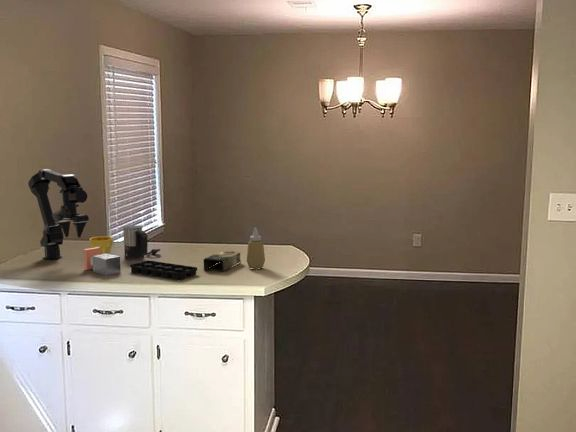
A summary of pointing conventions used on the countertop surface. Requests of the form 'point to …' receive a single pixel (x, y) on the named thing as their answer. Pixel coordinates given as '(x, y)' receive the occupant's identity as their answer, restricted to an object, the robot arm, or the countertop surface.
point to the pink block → (90, 257)
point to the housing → (106, 264)
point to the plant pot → (102, 243)
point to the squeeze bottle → (255, 251)
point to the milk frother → (136, 242)
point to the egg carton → (163, 270)
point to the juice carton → (223, 260)
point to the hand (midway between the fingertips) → (73, 237)
